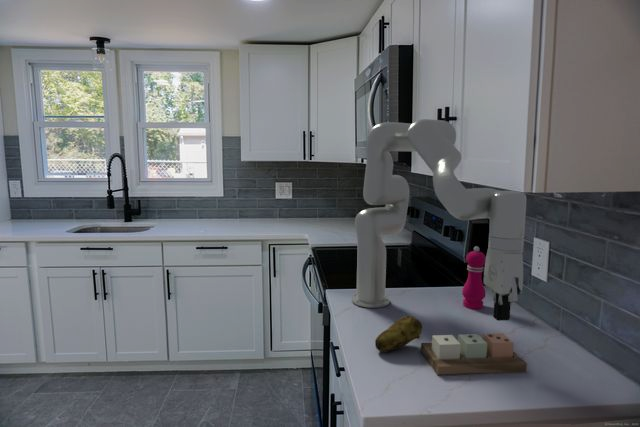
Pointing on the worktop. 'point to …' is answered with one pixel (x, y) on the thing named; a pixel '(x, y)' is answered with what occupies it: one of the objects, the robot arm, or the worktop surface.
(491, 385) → the worktop surface
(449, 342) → the one-pip tile
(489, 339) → the three-pip tile
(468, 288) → the pepper mill
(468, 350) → the two-pip tile
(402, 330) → the potato
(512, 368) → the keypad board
